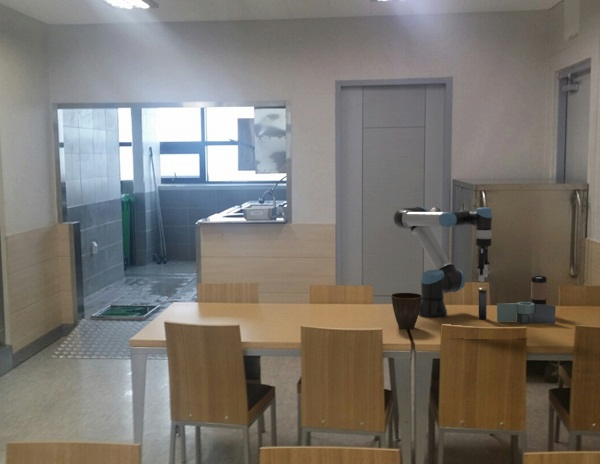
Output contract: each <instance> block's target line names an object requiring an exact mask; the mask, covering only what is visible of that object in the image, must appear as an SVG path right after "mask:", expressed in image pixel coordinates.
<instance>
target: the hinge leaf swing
mask: <svg viewBox="0 0 600 464" xmlns="http://www.w3.org/2000/svg"><path fill="white" fill-rule="evenodd" d="M517 313H520V314H533V313H535V304H534V303H531V301H519V302H515V303H512V302H511V303H509V302H507V303H496V322H497V323H498V322H501V323H502V322H503V323H504V322H505V323H507V322H508V323H509V322H511V323H512V322H516V323H517Z"/></svg>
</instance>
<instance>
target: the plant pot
mask: <svg viewBox="0 0 600 464" xmlns="http://www.w3.org/2000/svg"><path fill="white" fill-rule="evenodd" d="M390 296H391V303H392V309H393V313H394V314H393V315H394V317H395V318H394V319H395V320H396V323H397V327H398V328H399V329H402V330H412V329H414V328H415V327H416V323H417V320H418V317H419V311H420V306H421V301H422V295H421V294H420V293H416V292H415V293H414V292H396V293H391V295H390Z"/></svg>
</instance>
